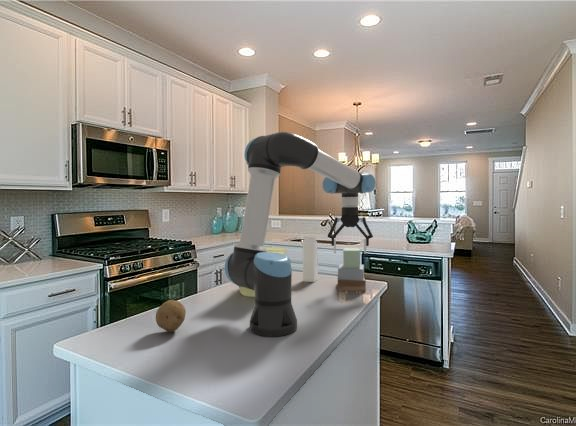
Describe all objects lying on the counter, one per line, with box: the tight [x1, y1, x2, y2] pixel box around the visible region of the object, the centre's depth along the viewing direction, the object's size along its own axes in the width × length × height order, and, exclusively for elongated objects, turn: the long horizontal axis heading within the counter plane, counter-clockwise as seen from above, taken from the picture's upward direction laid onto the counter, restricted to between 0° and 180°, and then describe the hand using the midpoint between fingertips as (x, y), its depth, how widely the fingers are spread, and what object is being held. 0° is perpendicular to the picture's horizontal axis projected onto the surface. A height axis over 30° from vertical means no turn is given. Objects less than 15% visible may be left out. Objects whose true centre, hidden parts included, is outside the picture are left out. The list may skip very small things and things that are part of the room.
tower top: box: [337, 263, 365, 281], centre depth 157 cm, size 11×11×5 cm
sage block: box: [342, 247, 361, 268], centre depth 157 cm, size 7×7×8 cm
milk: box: [302, 236, 319, 283], centre depth 171 cm, size 6×6×22 cm
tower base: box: [337, 277, 367, 292], centre depth 158 cm, size 12×12×5 cm
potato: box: [155, 299, 186, 333], centre depth 106 cm, size 9×9×10 cm
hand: (349, 253), depth 157 cm, fingers open, 13 cm apart
